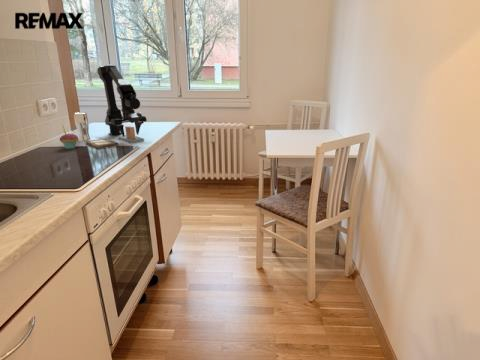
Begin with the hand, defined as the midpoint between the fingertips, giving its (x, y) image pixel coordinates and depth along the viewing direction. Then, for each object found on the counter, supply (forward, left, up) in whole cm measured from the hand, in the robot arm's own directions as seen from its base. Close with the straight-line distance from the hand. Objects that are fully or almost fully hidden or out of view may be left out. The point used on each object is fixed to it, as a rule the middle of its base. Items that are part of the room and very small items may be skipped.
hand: (130, 135), depth 186 cm
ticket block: (0, -16, -2) cm, 17 cm away
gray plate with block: (0, 0, -2) cm, 2 cm away
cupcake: (-6, -30, -3) cm, 31 cm away
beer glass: (-20, -18, -3) cm, 27 cm away
